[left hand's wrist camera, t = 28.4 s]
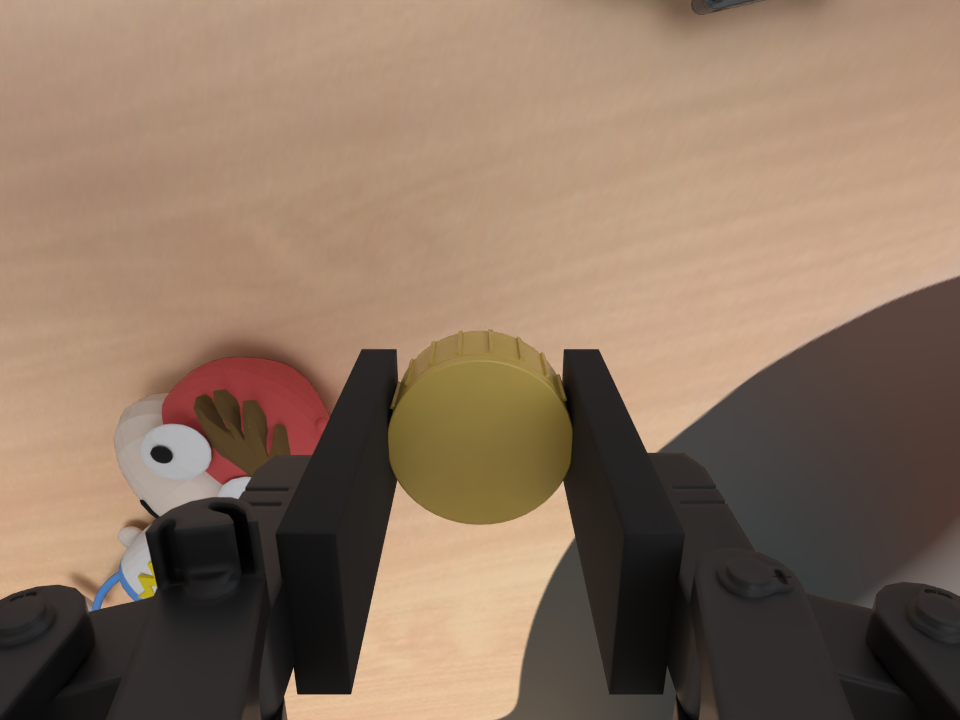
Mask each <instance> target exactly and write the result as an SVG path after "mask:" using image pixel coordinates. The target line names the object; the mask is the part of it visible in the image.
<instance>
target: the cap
mask: <svg viewBox="0 0 960 720" xmlns="http://www.w3.org/2000/svg"><path fill="white" fill-rule="evenodd" d="M565 401H567V398H566V395H565V391H564V388H563V384H562V381H561V377H560V375H559V374H557V375H556V373H555V371H554V370H553V368H552V367H551V365H550V364H549V363H548V361H547V360H546V359H545V355H544V354H543V353H539V352H538V351H536V350H535V349H534V348H533V347H531V346H529V345H528V344H526V343H525V342H523V341H521V338H520V337H517V339H516V338H514V337H511V336H508V335H505V334H501V333H496V332H493V330H488V331H473V332H465V333H463V331H459V334H456V335H452V336H449V337H446V338H444V339H442V340H440V341H438V342H435V341H433V342H432V343H431V346H430V347H428V348H427V349H426V350H424V351H423V352H422V353H421V354H420V355H419V356H418V357H417V358H416V359H415V360H414V359H412V360H411V361H410V364H409V368H408V369H407V371H406V373H405V375H404V377H403V379H402V381H401V382H398V383H397V387H396V390H395V394H394V397H393V400H392V404H391V407H390V409H392V410H393V411H392V415H391V418H390V422H389V426H388V444H389V460H390V465H391V468H392V470H393V472H394V474H395V477H396V478H397V480H398V482H399V483H400V485H401V486H402V488H403V489H404V490H405V491H406V492H407V494H408V495H409V496H410V497H411V498H412V499H413V500H414V501H416V502H417V503H418V504H419V505H421V506H422V507H423V508H425V509H426V510H428V511H430V512H432V513H434V514H435V515H438V516H440V517H443V518H445V519H448V520H451V521H455V522H459V523H465V524H476V525H485V524H496V523H502V522H506V521H509V520H513V519H516V518H518V517H521V516H523V515H525V514H527V513H529V512H531V511H533V510H534V509H536V508H537V507H539V506H540V505H541V504H543V503H544V502H545V501H546V500H547V499H548V498H550V497H551V496H552V495H553V493H554V492H555V491H556V490H557V489H558V487H559V486H560V484H561V483H562V481H563V480H564V478H565V476H566V474H567V472H568V469H569V467H570V464H571V452H572V433H573V428H572V423H571V419H570V416H569V412H568V409H567V405H566V402H565Z"/></svg>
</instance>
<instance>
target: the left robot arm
mask: <svg viewBox="0 0 960 720" xmlns="http://www.w3.org/2000/svg"><path fill="white" fill-rule="evenodd" d="M397 383H398V370H397V350H396V349H362V350H361V352H360V354H359V356H358V359H357V361H356V363H355V365H354V367H353V369H352V371H351V373H350V376H349V378H348V380H347V382H346V384H345V386H344V388H343V391H342V393H341V395H340V397H339V399H338V401H337V403H336V405H335V408H334V410H333V412H332V414H331V416H330V418H329V420H328V423H327V425H326V427H325V429H324V431H323V433H322V435H321V437H320V440H319V442H318V444H317V446H316V448H315V450H314V452H313V455H276V456H274V457H273V458H272V459H270V460H269V461H268V462H266V463H265V464H263V465H262V466H261V467H259V468H258V469H257V470H256V471H255V472H254V474H253V476H252V477H251V479H250V480H249V482H248V484H247V485H246V487H245V491H243V492H242V494H241V495H240V497H239V499H236V498H233V497H210V498H205V499H200V500H195V501H190V502H188V503H185V504H183V505H180V506H178V507H175V508H173V509H171V510H169V511H168V512H166V513H165V514H163V515H162V516H160V517H159V518H157V519H156V520H155V521H154V522H153V523H152V524H151V526H150V527H149V528H148V529H147V531H146V532H145V535H146V540H147V544H148V549H149V553H150V558H151V562H152V567H153V571H154V575H155V580H156V584H157V589H156V591H155V594H154V596H152V597H148V598H145V599H142V600H138V601H135V602H130V603H126V604H121V605H117V606H112V607H108V608H103V609H99V610H94V611H89V610H88V606H87V603H86V599H85V596H83V595H82V594H81V593H80V592H79V591H78V590H77V589H76V588H72V587H67V586H62V585H50V586H39V587H34V588H31V589H27V590H24V591H20V592H17V593H14V594H11V595H9V596H7V597H5V598H3V599H1V600H0V720H287V714H286V707H285V700H284V695H285V692H286V689H287V686H288V683H289V680H290V677H291V673H292V670H293V667H294V673H295V680H296V688H297V694H351V692H352V688H353V683H354V678H355V674H356V669H357V664H358V660H359V655H360V650H361V646H362V641H363V637H364V632H365V627H366V623H367V618H368V613H369V609H370V604H371V599H372V595H373V590H374V586H375V581H376V576H377V572H378V567H379V562H380V558H381V553H382V548H383V544H384V539H385V535H386V530H387V525H388V521H389V516H390V511H391V507H392V502H393V498H394V493H395V488H396V484H397V478H396V477H395V474H394V472H393V470H392V468H391V465H390V460H389V444H388V426H389V422H390V418H391V415H392V411H393V410H392V409H390V407H391V404H392V400H393V397H394V394H395V390H396V387H397ZM562 384H563V388H564V391H565V395H566V398H567V401H565V402H566V405H567V409H568V412H569V416H570V419H571V423H572V428H573V433H572V452H571V464H570V467H569V469H568V472H567V474H566V476H565V478H564V480H563V482H564V486H565V491H566V496H567V500H568V505H569V509H570V514H571V519H572V523H573V528H574V533H575V537H576V542H577V547H578V551H579V556H580V560H581V565H582V570H583V574H584V579H585V584H586V588H587V593H588V597H589V602H590V607H591V611H592V616H593V621H594V625H595V630H596V635H597V639H598V644H599V648H600V653H601V658H602V662H603V667H604V672H605V676H606V681H607V685H608V690H609V694H663V691H664V684H665V676H666V669H667V666H668V669H669V672H670V675H671V678H672V681H673V684H674V687H675V690H676V693H677V694H676V700H675V707H674V714H673V720H960V596H958V595H956V594H953V593H952V592H950V591H947V590H944V589H941V588H936V587H934V586H930V585H926V584H919V583H908V582H900V583H896V584H891V585H886V586H885V587H884V588H883V589H882V590H880V591H879V592H878V593H877V594H876V597H875V601H874V605H873V608H872V609H870V608H865V607H861V606H856V605H852V604H847V603H842V602H838V601H833V600H829V599H825V598H822V597H818V596H815V595H811V594H808V593H806V592H805V590H804V588H803V586H802V584H801V583H800V581H799V580H798V578H797V577H796V576H795V574H794V573H793V572H792V571H791V570H789V569H788V568H787V567H786V566H784V565H783V564H781V563H780V562H779V561H777V560H775V559H773V558H771V557H769V556H766V555H764V554H762V553H760V552H756V551H755V550H754V548H753V546H752V545H751V543H750V541H749V540H748V538H747V537H746V535H745V533H744V532H743V530H742V528H741V527H740V525H739V523H738V522H737V520H736V518H735V517H734V515H733V513H732V512H731V510H730V508H729V507H728V505H727V504H725V502H724V499H723V497H722V495H721V494H720V492H719V490H718V489H716V485H715V484H714V482H713V480H712V479H711V477H710V476H709V474H708V472H707V470H706V469H705V468H704V467H703V466H702V465H700V464H699V463H697V462H696V461H695V460H693V459H692V458H691V457H689V456H688V455H686V454H685V453H647V451H646V449H645V447H644V445H643V443H642V441H641V439H640V437H639V434H638V432H637V430H636V428H635V426H634V424H633V422H632V419H631V417H630V415H629V413H628V411H627V409H626V407H625V405H624V402H623V400H622V398H621V396H620V394H619V392H618V390H617V387H616V385H615V383H614V381H613V379H612V377H611V375H610V373H609V370H608V368H607V366H606V364H605V362H604V360H603V358H602V355H601V353H600V351H599V349H564V359H563V378H562Z"/></svg>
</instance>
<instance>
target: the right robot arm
mask: <svg viewBox="0 0 960 720" xmlns="http://www.w3.org/2000/svg"><path fill="white" fill-rule="evenodd" d="M759 1H764V0H692V3H691V6H692V9H693V11H694V12H695V13H697V14H699V15H704V14H708V13H712V12H717V11H721V10H725V9H729V8H734V7H738V6H742V5H746V4H751V3H755V2H759Z"/></svg>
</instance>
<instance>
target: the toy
mask: <svg viewBox="0 0 960 720" xmlns="http://www.w3.org/2000/svg"><path fill="white" fill-rule="evenodd" d="M329 418H330V417H329V415H328V412H327V410H326V408H325V406H324V404H323V403H322V401H321V399H320V397H319V396H318V394H317V392H316V391H315V389H314V388H313V387H312V385H311V384H310V383H309V381H308V380H307V379H306V378H305V377H304V376H302V375H301V374H300V373H298V372H297V371H296V370H295V369H293V368H291V367H289V366H287V365H285V364H282V363H280V362H276V361H272V360H268V359H258V358H247V357H231V358H224V359H219V360H215V361H211V362H209V363H207V364H204V365H202V366H200V367H198V368H197V369H195V370H193V371H192V372H191V373H190V374H188V375H187V376H186V377H185V378H184V379H182V380H181V381H180V382H179V383H178V384H177V385H176V386H175V387H174V388H173V389H172V391H171V392H170V393H159V394H153V395H150V396H146V397H145V398H143V399H141V400H139V401H138V402H136V403H134V404H132V405H131V406H129V407H128V408H127V409H125V411H124V412H123V414H122V415H121V417H120V420H119V423H118V426H117V429H116V431H115V436H114V445H115V450H116V455H117V459H118V464H119V467H120V469H121V472H122V474H123V475H124V477H125V479H126V480H127V482H128V484H129V485H130V487H131V489H132V491H133V492H134V494H135V495H136V496H137V497H138V498H139V499H140V502H141V504H142V506H143V507H144V508H145V509H146V510H147V511H148V512H149V513H150V514H151V515H152V516H154V517H155V518H156V519H157V518H159V517H160V516H162V515H163V514H165V513H166V512H168V511H169V510H171V509H173V508H175V507H178V506H180V505H183V504H185V503H188V502H190V501H195V500H200V499H205V498H210V497H233V498H236V499H239V497H240V495H241V494H242V492H243V491H245V487H246V485H247V484H248V482H249V480H250V479H251V477H252V476H253V474H254V472H255V471H256V470H257V469H258V468H259V467H261V466H262V465H263V464H265V463H266V462H268V461H269V460H270V459H272V458H273V457H274V456H276V455H313V452H314V450H315V448H316V446H317V444H318V442H319V440H320V437H321V435H322V433H323V431H324V429H325V427H326V425H327V423H328V420H329ZM150 526H151V524H150V525H149V526H148V527H147V528H145V529H144V530H141V529H140V528H137V527H135V526H127V527H124V528H123V529H121V530H120V531H119V534H118V539H119V540H120V542H121V543H122V544H123V545H124V546H126V547H128V549H127V550H126V551H125V553H124V555H123V557H122V560H121V563H120V566H119V572H117V573H116V574H114V575H113V576H112V577H110V578H109V579H108V580H107V581H106V582H105V583H104V584H103V585H102V587H101V588H100V589H99V591H98V593H97V594H96V597H95V600H94V602H92V601H91V600H90V599H89V598H87V597H86V596H85V599H86V603H87V606H88V610H89V611H94V610H99V609H100V608H101V605H102V602H103V599H104V597H105V595H106V594H107V592H108V591H109V590H110V589H111V587H113V586H114V585H115V584H116V583H117V582H118V581H120V582H121V584H122V587H123V588H124V590H125V591H126V592H127V594H128V595H129V596H130V597H131V598H132V599H133V600H134V601H138V600H142V599H145V598H148V597H152V596H154V594H155V591H156V589H157V584H156V580H155V575H154V571H153V567H152V562H151V558H150V553H149V549H148V544H147V540H146V535H145V532H146V531H147V529H148V528H149V527H150ZM82 595H83V594H82ZM83 596H84V595H83Z"/></svg>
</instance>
